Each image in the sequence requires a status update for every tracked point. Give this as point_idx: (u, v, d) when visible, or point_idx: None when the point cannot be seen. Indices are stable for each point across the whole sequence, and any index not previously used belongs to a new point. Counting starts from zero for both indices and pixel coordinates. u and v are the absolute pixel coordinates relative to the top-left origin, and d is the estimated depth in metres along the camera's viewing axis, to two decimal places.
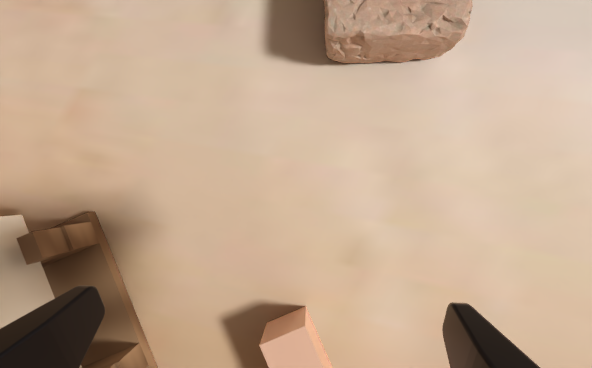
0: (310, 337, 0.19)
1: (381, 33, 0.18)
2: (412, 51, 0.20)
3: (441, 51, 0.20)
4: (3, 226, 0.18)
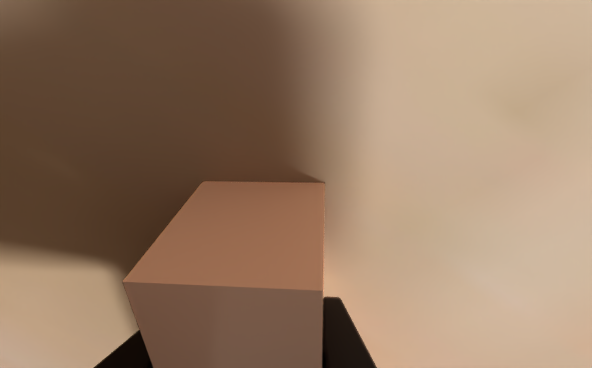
0: (321, 321, 0.05)
1: None
2: None
3: None
4: None
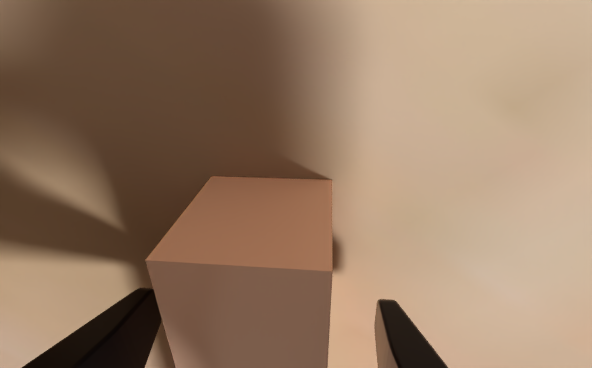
0: None
1: None
2: None
3: None
4: None
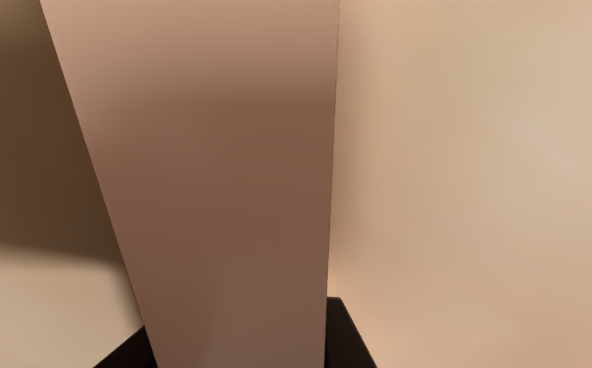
0: None
1: None
2: None
3: None
4: None
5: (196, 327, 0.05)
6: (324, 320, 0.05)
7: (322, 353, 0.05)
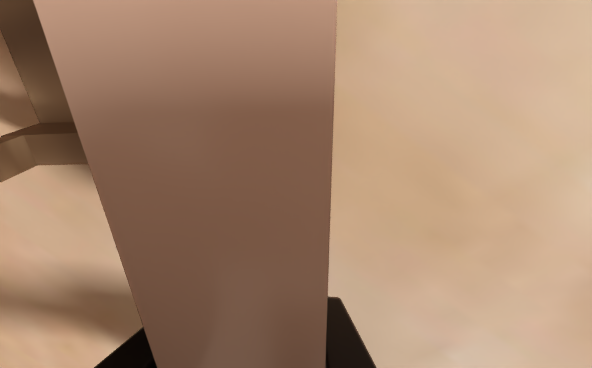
0: (334, 41, 0.03)
1: None
2: None
3: None
4: None
5: (196, 329, 0.05)
6: (325, 321, 0.05)
7: (323, 354, 0.05)
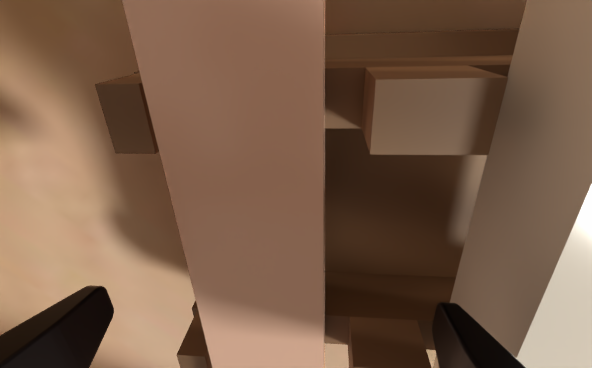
0: (322, 30, 0.05)
1: None
2: None
3: None
4: None
5: (224, 254, 0.07)
6: (322, 242, 0.06)
7: (322, 271, 0.07)
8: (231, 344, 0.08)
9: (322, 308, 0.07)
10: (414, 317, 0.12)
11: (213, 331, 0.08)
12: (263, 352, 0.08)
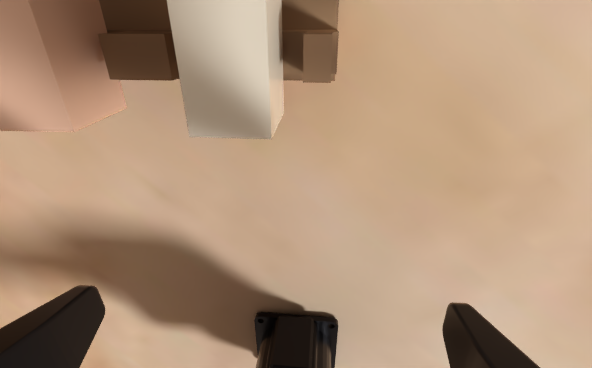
0: None
1: None
2: None
3: None
4: None
5: None
6: None
7: None
8: None
9: None
10: None
11: None
12: None
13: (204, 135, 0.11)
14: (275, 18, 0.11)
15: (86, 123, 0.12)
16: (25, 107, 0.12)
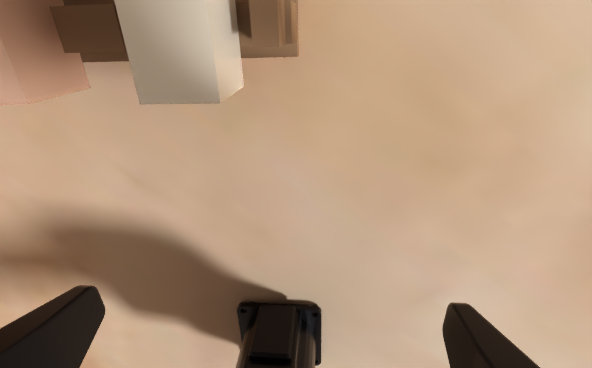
0: None
1: None
2: None
3: None
4: None
5: None
6: None
7: None
8: None
9: None
10: None
11: None
12: None
13: (154, 102, 0.11)
14: None
15: (42, 97, 0.13)
16: None
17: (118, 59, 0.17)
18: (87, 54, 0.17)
